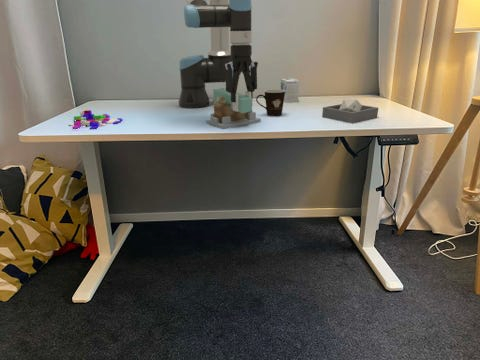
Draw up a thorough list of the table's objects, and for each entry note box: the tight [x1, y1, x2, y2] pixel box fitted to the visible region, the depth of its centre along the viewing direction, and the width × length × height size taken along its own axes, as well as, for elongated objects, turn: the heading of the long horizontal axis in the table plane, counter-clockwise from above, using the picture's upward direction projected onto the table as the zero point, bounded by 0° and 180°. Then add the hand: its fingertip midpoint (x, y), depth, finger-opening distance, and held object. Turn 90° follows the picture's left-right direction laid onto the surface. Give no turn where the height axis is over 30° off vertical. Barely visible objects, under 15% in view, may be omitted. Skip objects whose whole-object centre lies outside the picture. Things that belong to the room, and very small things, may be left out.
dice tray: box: [322, 103, 379, 124], centre depth 149 cm, size 15×16×4 cm
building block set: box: [68, 109, 124, 130], centre depth 149 cm, size 25×20×4 cm
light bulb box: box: [280, 77, 300, 104], centre depth 186 cm, size 11×7×11 cm, turn 11°
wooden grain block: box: [213, 97, 253, 123], centre depth 142 cm, size 15×4×9 cm, turn 125°
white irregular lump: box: [339, 97, 363, 112], centre depth 148 cm, size 8×9×10 cm
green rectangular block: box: [212, 87, 254, 113], centre depth 141 cm, size 18×5×5 cm, turn 39°
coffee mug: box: [255, 89, 285, 117], centre depth 155 cm, size 12×9×10 cm
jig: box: [205, 111, 262, 130], centre depth 144 cm, size 18×12×4 cm, turn 125°
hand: (242, 109), depth 138 cm, fingers closed on green rectangular block, 5 cm apart
